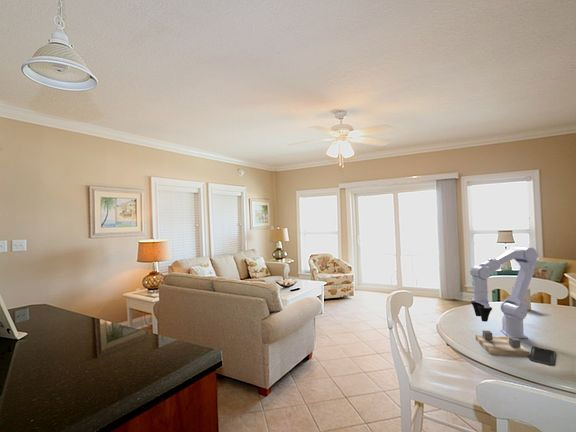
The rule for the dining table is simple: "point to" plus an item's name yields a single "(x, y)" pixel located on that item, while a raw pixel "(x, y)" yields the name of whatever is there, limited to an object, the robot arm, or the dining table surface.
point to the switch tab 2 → (514, 342)
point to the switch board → (501, 346)
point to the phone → (542, 356)
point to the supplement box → (527, 299)
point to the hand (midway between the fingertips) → (481, 318)
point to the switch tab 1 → (487, 335)
